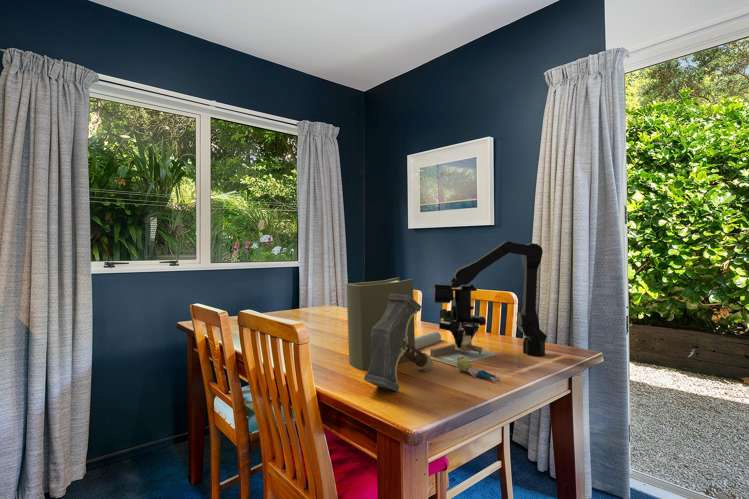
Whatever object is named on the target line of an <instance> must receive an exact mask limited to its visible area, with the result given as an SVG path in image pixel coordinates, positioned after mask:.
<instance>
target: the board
mask: <svg viewBox="0 0 749 499" xmlns="http://www.w3.org/2000/svg"><path fill="white" fill-rule="evenodd" d="M472 343H473V342H472V340H471V345H473V344H472ZM429 352H430V353H429V354H430V355H428V356H429V357H430V358H431V359H432V361H434V362H436V363H440V364H443V365H446V366H450V367H454V368H456V369H458V367H457V362H458V359H457V358H460V357H464V358H465V359H468V360H470V362H471V363H472V362H475V361H479V360H483V359H486V358H490V357H495V356H497V355H499V353H498V352H494V351H489V350H486V349H482V352H481V354H479V352H477V351H473V350H469V351H465V352H463V351H459V350H455V343H452V344H451V343H450V344H448V345H443V346H438V347H433V348H430V351H429Z"/></svg>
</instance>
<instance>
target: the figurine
mask: <svg viewBox="0 0 749 499" xmlns="http://www.w3.org/2000/svg"><path fill="white" fill-rule="evenodd" d="M457 359H458V362H457V365H456V366H457V367H458V368H457V369H458V371H459V372H465V373H469V374H470V375H471V376H472V377H473V378H474V379H475V378H476V377H477V378H482V379H486V380H487V379H488V380H492V382H493V384H496V382H498V383H500V382H501V377H500V376H497V375H496V374H492V373H490V372H488V371H486V370H483V369H480V368H476V367H473V363H472V362H470V360H468V359H465V358H464V357H460V358H457ZM496 379H497V380H496Z"/></svg>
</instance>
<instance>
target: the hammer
mask: <svg viewBox="0 0 749 499" xmlns="http://www.w3.org/2000/svg"><path fill="white" fill-rule="evenodd" d="M421 309H422V305H421V304H420V303H418V302H417V301H416V300H415V299H414V297H413V298H412V297H410V296H408V295H399V294H390V295H389V304H388V307H387V309H386V311H385V313H384V315H383V316H382V318H381V319H380V321H379V322H378V323H377V324H376V325H375V326H374V327H373V328H372V332H371V342H372V352H371V361H370V366H369V369H367V373H365V375H364V376H363V380H364V381H365V382H367V383H369V384H371V385H373V386H375V387H377V388H381V389H385V390H389V391H393V392H397V393H399V392H400V385H399V379H398V376H397V371H398V370H397V369H398V364H399V363H400V362H399V359H400V357H401V356H404V357H405V358H407V359H409V361H408V362H410V363H413V364H414V365H415V367H416V368H418V369H419V370H420V371H421V370H422V371H423V372H427V371H429V370H431V369H432V368H433V365H434V362H433V360H432V359H433V358H431V357H429V356H430V355H428V354H427V353H425V352H422V351H421V350H420V349H416V348H415V347H413V346H412V345H411V344H408V336H407V330H408V325H409V322H410V320H411V318H412V317H413V316H414V317H415V315H416V314H418V312H420V311H421Z"/></svg>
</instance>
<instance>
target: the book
mask: <svg viewBox="0 0 749 499" xmlns="http://www.w3.org/2000/svg"><path fill="white" fill-rule="evenodd" d="M390 294H399V295H408V296H410V297H412V298H413V299H414V280H413V278H409V279H403V280H401V279H400V277H398V276H397V277H393V278H389V279H385V280H384V279H383V280H376V281H375V280H374V281H364V282H354V283H346V303H347V304H346V307H347V310H346V312H347V336H348V338H347V339H348V363H349V365H350V366H351V367H353V368H355V369H358V370H361V371H364V370H365V371H366V370H369V366H370V361H371V352H372V342H371V332H372V328H373V327H374V326H375V325H376V324H377V323H378V322H379V321H380V319H381V318H382V316H383V315H384V313H385V311H386V309H387V307H388V304H389V295H390ZM407 336H408V344H411V345H412V346H413V347H415V337H416V335H415V315H414V316H413V317H412V318H411V320H410V322H409V325H408V330H407ZM401 362H410V361H409V359H407V358H405V357H404V356H401V357H400V359H399V362H398V363H401Z"/></svg>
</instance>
